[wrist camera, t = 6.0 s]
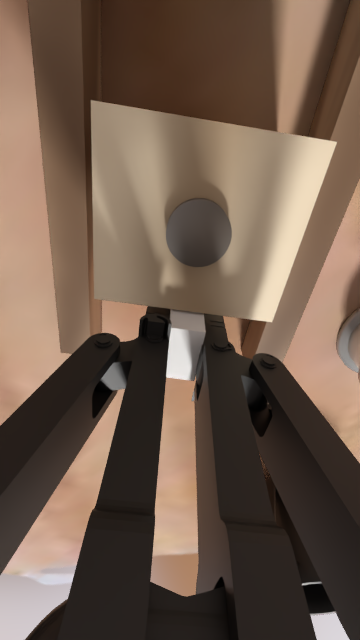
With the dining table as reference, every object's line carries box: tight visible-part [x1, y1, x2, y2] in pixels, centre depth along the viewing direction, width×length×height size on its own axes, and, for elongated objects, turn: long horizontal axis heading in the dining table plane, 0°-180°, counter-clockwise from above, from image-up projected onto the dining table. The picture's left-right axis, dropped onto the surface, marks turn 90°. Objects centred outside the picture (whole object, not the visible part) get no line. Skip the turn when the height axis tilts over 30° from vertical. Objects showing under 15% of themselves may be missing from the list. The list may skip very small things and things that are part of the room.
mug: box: [265, 477, 336, 615], centre depth 28 cm, size 8×12×10 cm
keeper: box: [91, 100, 337, 322], centre depth 14 cm, size 8×7×8 cm
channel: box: [27, 0, 360, 362], centre depth 14 cm, size 15×24×5 cm, turn 172°
